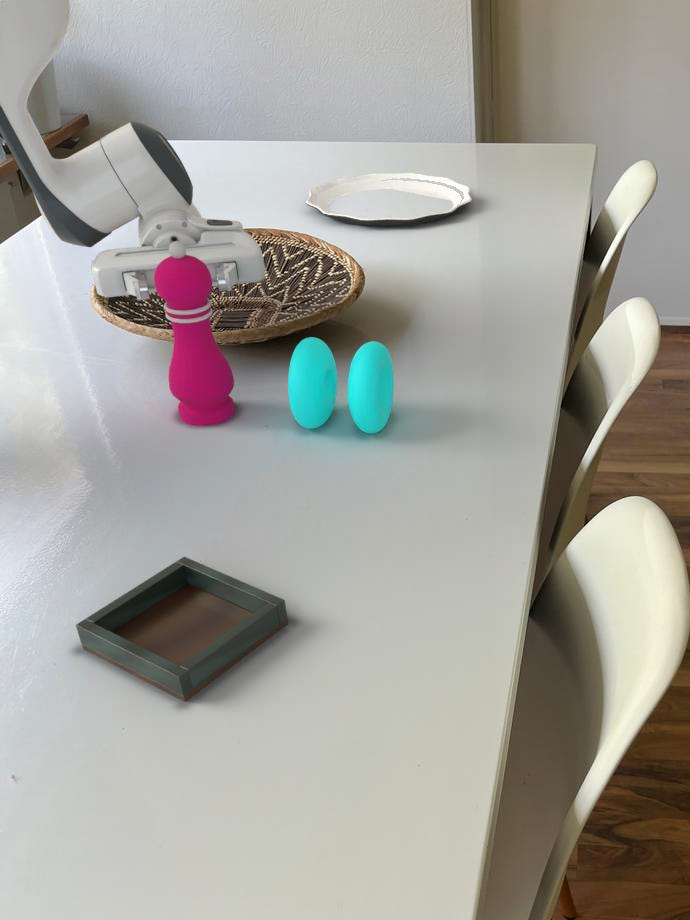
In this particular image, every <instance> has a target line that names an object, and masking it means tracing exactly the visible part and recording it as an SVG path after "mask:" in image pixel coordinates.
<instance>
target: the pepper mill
mask: <svg viewBox="0 0 690 920" xmlns="http://www.w3.org/2000/svg"><path fill="white" fill-rule="evenodd" d="M169 253H170V255H171V256H170V257H168V258H166V259H164V260H163V261H161V262H160V263H159V265H158V266H157V268H156V270H155V274H154V283H155V288H156V291H157V292H156V293H157V295H158V296H159V297H160V298H161V299H162V300H164V302H165V303H164V304H163V309H164V311H165V318H166V319H167V320H168V321H169V322H170V324H171V329H172V334H173V350H172V356H171V359H170V364H169V368H168V385H169V387H168V388H169V391H170V394H172V396H173V397H174V398H175V399H177V400H178V401H179V403H178V404H177V408H178V414H179V419H180V421H182V422H183V423H185V424H186V425H191V426H197V427H204V426H206V427H207V426H208V427H209V426H214V425H218V424H221V423H225V422H226V421H228V420H230V419H231V418H232V417H233V416H234V415H235V411H236V409H235V405H234V400H233V398H232V397H231V396H230V395H231V393H232V391H233V389H234V388H235V387H234V386H235V379H234V378H235V377H234V374H233V370H232V368H231V365H230V364H229V362H228V360H227V358H226V357H225V355H224V353H223V352H222V351H221V348H220V347H219V345H218V343H217V341H216V338H215V336H214V334H213V330H212V326H211V319H210V318H211V316H212V315H213V313H214V312H213V308H212V301H211V299H209V298H208V297H209V295H210V294H211V292H212V289H213V287H212V278H211V274H210V272H209V269H208V268H207V266H206V265H205V264H204V263H203V262H202V261H201V260H199V259H198V258H196V257H193V256H190V255H186V247H185V245H184V244H183V243H181V242H179V241H175V242H172V243H171V244H170V246H169Z"/></svg>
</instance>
